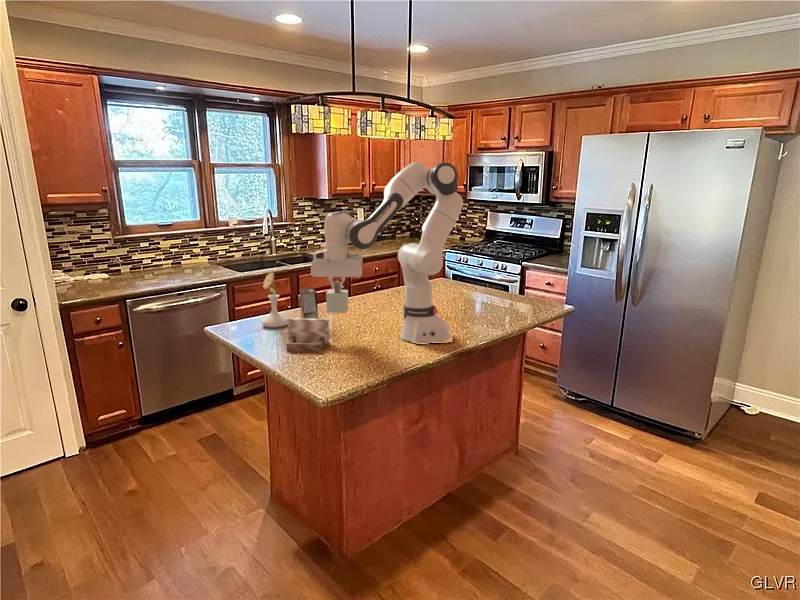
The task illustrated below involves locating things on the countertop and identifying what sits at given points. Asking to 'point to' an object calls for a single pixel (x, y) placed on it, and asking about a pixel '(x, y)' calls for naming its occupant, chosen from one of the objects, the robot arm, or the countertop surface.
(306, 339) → the tan lidded box
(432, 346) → the countertop surface
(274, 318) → the flower in vase
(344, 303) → the cube with grey handle
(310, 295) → the coffee box
